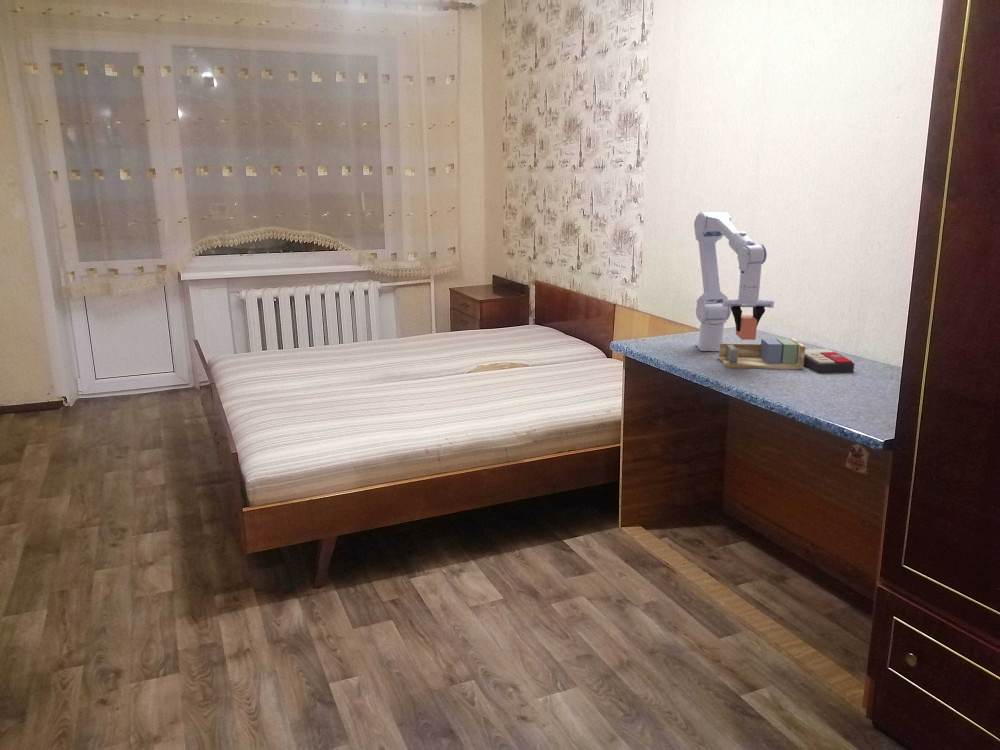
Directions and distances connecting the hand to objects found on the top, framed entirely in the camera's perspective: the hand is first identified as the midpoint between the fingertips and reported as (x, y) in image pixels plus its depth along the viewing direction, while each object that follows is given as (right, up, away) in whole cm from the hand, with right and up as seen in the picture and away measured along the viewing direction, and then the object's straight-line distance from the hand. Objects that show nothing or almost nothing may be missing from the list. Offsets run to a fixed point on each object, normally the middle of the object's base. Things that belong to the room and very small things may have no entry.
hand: (745, 331), depth 226 cm
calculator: (+23, -11, -1) cm, 25 cm away
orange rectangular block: (0, -2, 0) cm, 2 cm away
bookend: (-4, -9, +3) cm, 10 cm away
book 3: (+12, -9, +1) cm, 15 cm away
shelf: (+5, -10, +2) cm, 11 cm away
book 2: (+8, -9, +2) cm, 12 cm away
